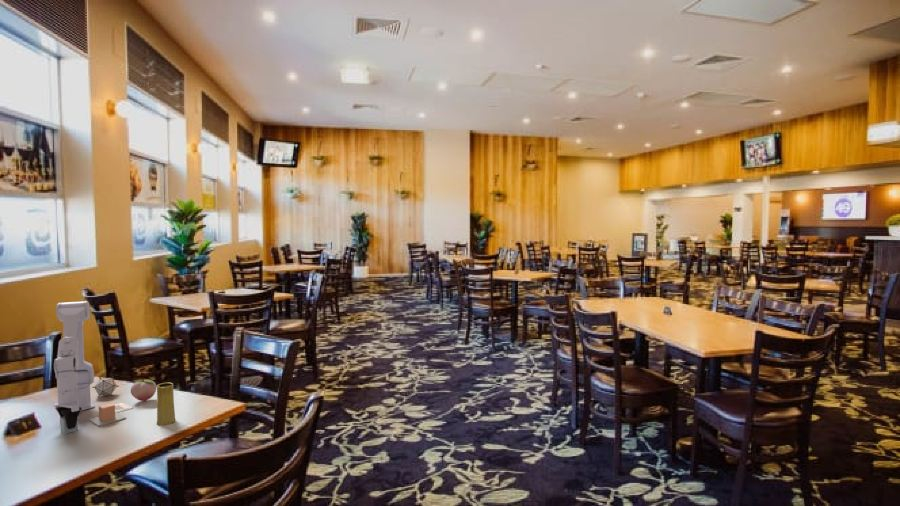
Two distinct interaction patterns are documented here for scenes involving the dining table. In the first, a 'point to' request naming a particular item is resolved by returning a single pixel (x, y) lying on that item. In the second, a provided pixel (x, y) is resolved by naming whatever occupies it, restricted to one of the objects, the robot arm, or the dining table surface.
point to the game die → (105, 386)
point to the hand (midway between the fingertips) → (69, 426)
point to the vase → (165, 404)
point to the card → (121, 407)
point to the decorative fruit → (143, 389)
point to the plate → (101, 423)
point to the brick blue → (64, 426)
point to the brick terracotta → (106, 412)
